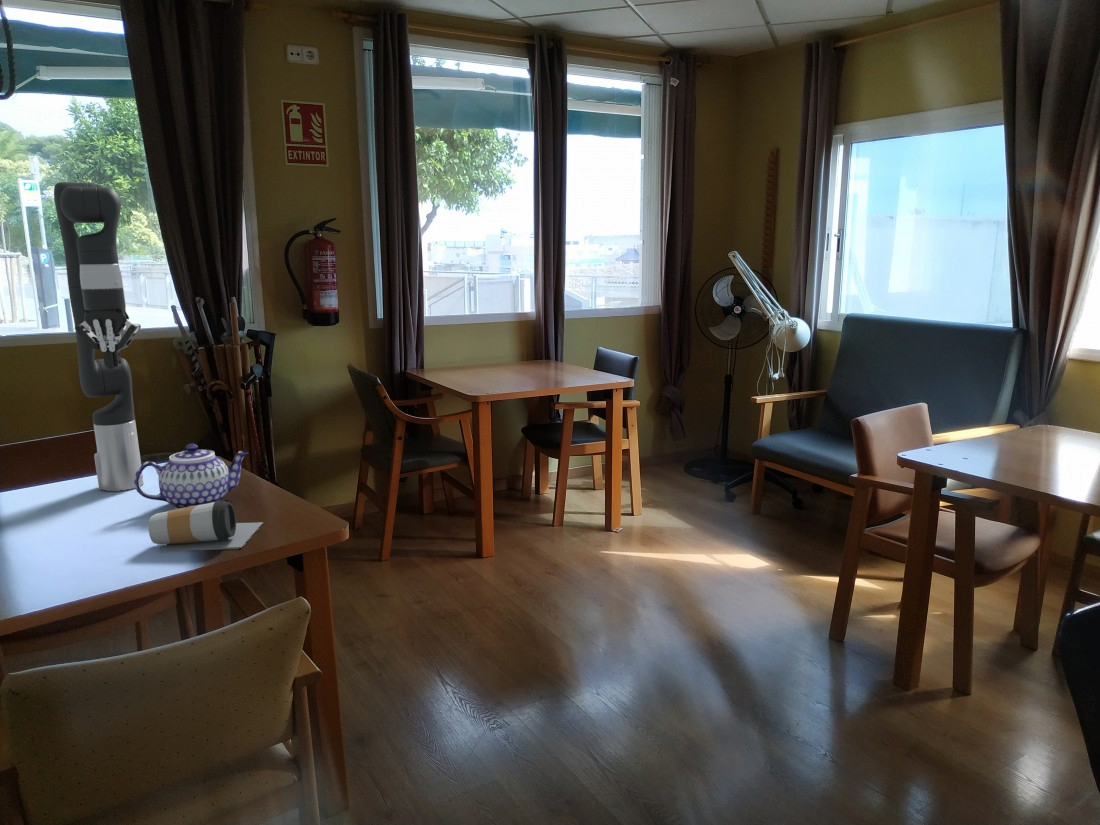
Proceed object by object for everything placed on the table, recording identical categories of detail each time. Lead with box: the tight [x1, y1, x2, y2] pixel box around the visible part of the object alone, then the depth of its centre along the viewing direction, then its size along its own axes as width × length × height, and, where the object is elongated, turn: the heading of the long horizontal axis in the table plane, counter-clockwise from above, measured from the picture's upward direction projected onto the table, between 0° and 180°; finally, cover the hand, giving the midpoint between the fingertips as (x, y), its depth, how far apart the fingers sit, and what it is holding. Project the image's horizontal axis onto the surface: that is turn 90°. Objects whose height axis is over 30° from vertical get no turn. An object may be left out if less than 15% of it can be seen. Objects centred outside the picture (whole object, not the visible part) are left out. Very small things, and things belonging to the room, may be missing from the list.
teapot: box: [134, 443, 249, 510], centre depth 177 cm, size 25×15×15 cm, turn 121°
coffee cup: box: [148, 499, 237, 546], centre depth 153 cm, size 8×8×15 cm
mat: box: [160, 521, 264, 552], centre depth 158 cm, size 16×14×1 cm
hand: (113, 368), depth 159 cm, fingers closed
